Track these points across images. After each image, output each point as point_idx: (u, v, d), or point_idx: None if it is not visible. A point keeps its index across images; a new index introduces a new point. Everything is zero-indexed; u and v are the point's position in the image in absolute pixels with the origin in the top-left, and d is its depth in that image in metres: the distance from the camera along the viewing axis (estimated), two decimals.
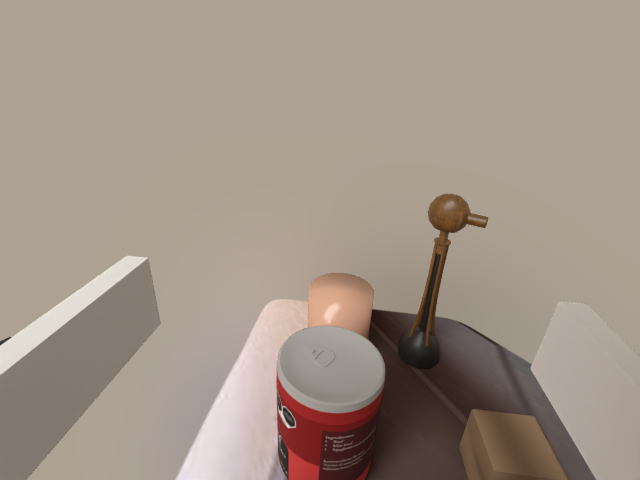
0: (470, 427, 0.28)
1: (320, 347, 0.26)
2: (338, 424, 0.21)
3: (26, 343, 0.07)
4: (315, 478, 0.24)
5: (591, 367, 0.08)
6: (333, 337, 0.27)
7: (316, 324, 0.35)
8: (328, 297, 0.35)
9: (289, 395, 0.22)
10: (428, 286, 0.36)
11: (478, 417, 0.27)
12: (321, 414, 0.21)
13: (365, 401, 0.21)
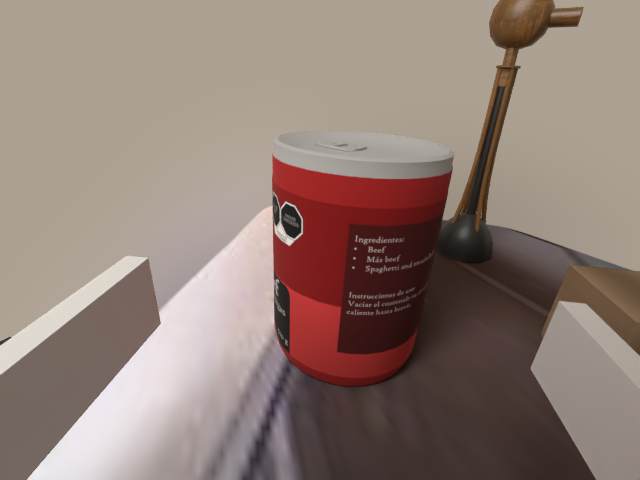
0: (567, 292, 0.18)
1: (341, 143, 0.16)
2: (379, 207, 0.12)
3: (26, 343, 0.07)
4: (333, 335, 0.15)
5: (592, 367, 0.08)
6: (361, 140, 0.17)
7: None
8: None
9: (292, 167, 0.13)
10: (483, 142, 0.26)
11: (583, 271, 0.18)
12: (349, 183, 0.12)
13: (428, 165, 0.12)
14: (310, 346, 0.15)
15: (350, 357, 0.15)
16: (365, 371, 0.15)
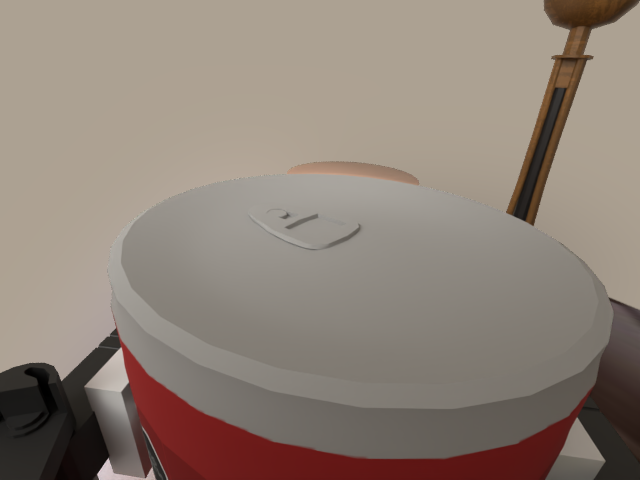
0: None
1: (307, 209, 0.08)
2: None
3: None
4: None
5: None
6: (351, 196, 0.09)
7: None
8: None
9: (122, 342, 0.04)
10: (527, 170, 0.18)
11: None
12: (280, 459, 0.03)
13: (576, 379, 0.03)
14: None
15: None
16: None
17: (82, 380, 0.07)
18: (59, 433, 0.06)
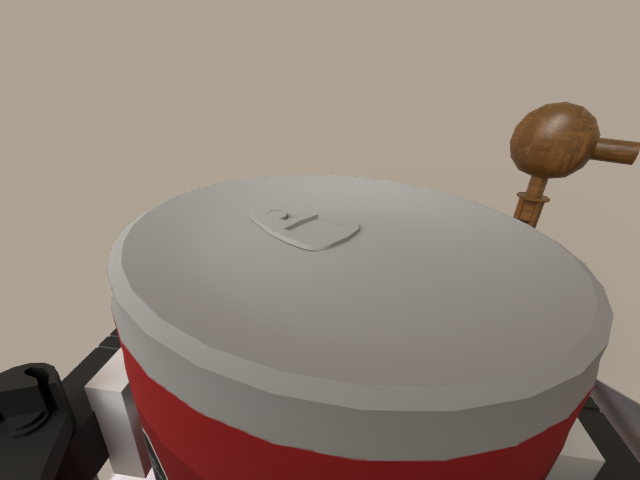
0: None
1: (307, 210, 0.08)
2: None
3: None
4: None
5: None
6: (351, 197, 0.09)
7: None
8: None
9: (122, 344, 0.04)
10: None
11: None
12: (281, 462, 0.03)
13: (575, 382, 0.03)
14: None
15: None
16: None
17: (82, 380, 0.07)
18: (59, 433, 0.06)
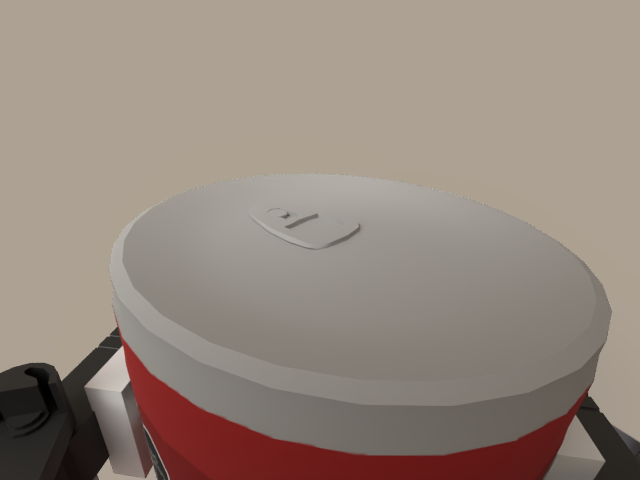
0: None
1: (307, 209, 0.08)
2: None
3: None
4: None
5: None
6: (351, 196, 0.09)
7: None
8: None
9: (123, 341, 0.04)
10: None
11: None
12: (282, 457, 0.03)
13: (573, 377, 0.03)
14: None
15: None
16: None
17: (82, 380, 0.07)
18: (59, 433, 0.06)
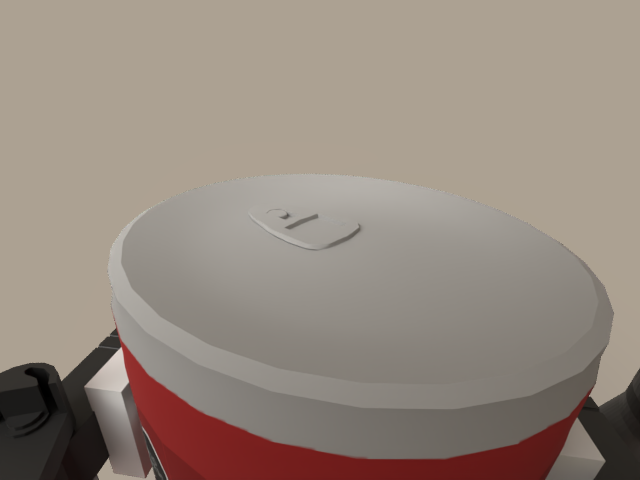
0: None
1: (307, 209, 0.08)
2: None
3: None
4: None
5: None
6: (351, 196, 0.09)
7: None
8: None
9: (122, 342, 0.04)
10: None
11: None
12: (281, 460, 0.03)
13: (577, 380, 0.03)
14: None
15: None
16: None
17: (82, 380, 0.07)
18: (59, 433, 0.06)
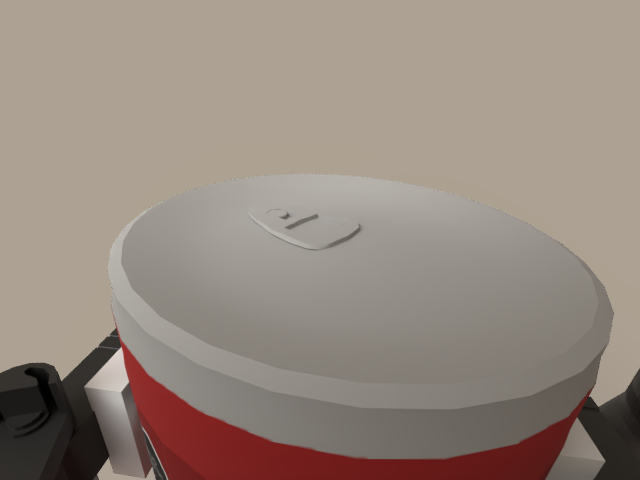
0: None
1: (307, 209, 0.08)
2: None
3: None
4: None
5: None
6: (351, 196, 0.09)
7: None
8: None
9: (122, 342, 0.04)
10: None
11: None
12: (281, 460, 0.03)
13: (576, 380, 0.03)
14: None
15: None
16: None
17: (82, 380, 0.07)
18: (59, 433, 0.06)
